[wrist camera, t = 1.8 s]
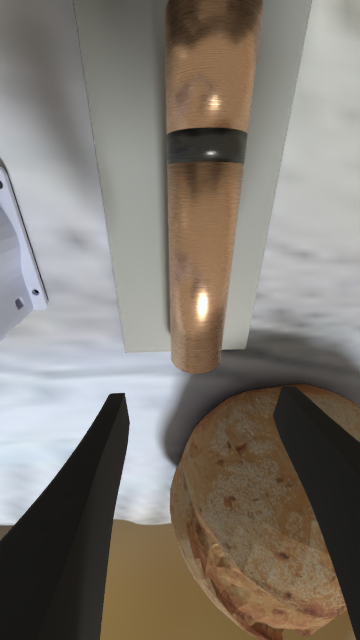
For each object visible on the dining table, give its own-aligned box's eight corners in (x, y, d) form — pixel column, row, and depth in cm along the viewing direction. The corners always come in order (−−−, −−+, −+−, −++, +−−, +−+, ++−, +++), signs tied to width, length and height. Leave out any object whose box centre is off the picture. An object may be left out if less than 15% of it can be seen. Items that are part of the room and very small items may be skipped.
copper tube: (207, 338, 21) (229, 366, 17) (165, 347, 20) (180, 379, 16) (230, 48, 12) (286, -5, 8) (153, 33, 10) (184, -37, 7)
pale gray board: (243, 345, 22) (245, 349, 21) (126, 348, 21) (125, 352, 20) (386, -435, 7) (403, -485, 6) (5, -492, 6) (-9, -553, 6)
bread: (276, 499, 39) (330, 653, 26) (145, 483, 34) (133, 665, 21) (398, 398, 27) (608, 591, 14) (224, 349, 22) (310, 585, 9)
